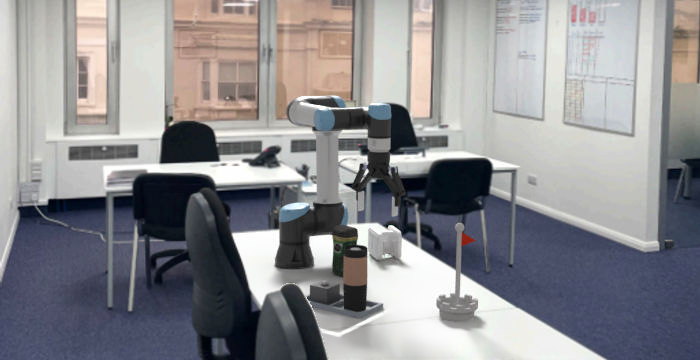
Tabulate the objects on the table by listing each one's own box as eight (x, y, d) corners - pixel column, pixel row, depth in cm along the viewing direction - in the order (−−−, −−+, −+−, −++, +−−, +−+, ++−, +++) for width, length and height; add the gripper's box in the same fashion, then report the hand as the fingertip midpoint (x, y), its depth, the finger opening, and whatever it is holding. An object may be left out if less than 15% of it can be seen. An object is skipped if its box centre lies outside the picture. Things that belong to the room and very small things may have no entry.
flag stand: (431, 319, 254) (433, 225, 249) (441, 306, 266) (444, 217, 261) (472, 324, 249) (476, 229, 244) (481, 311, 261) (484, 220, 256)
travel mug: (342, 304, 263) (342, 244, 259) (365, 304, 263) (366, 244, 260) (343, 312, 255) (344, 250, 252) (368, 312, 256) (369, 250, 253)
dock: (296, 306, 265) (296, 298, 264) (320, 296, 275) (321, 289, 275) (360, 321, 250) (360, 314, 250) (383, 310, 261) (383, 303, 261)
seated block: (309, 302, 265) (309, 282, 264) (322, 297, 271) (322, 277, 270) (327, 306, 261) (327, 285, 260) (339, 301, 267) (339, 280, 266)
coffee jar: (361, 275, 300) (362, 226, 297) (344, 279, 295) (345, 229, 292) (344, 269, 308) (345, 221, 305) (328, 273, 303) (328, 224, 300)
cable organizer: (402, 261, 321) (403, 232, 319) (376, 262, 319) (377, 233, 317) (391, 251, 335) (391, 224, 334) (366, 253, 333) (366, 225, 331)
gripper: (341, 148, 273) (340, 210, 277) (405, 155, 259) (403, 220, 262) (354, 145, 279) (353, 206, 283) (417, 152, 265) (415, 216, 269)
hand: (377, 213), depth 273 cm, fingers open, 13 cm apart
